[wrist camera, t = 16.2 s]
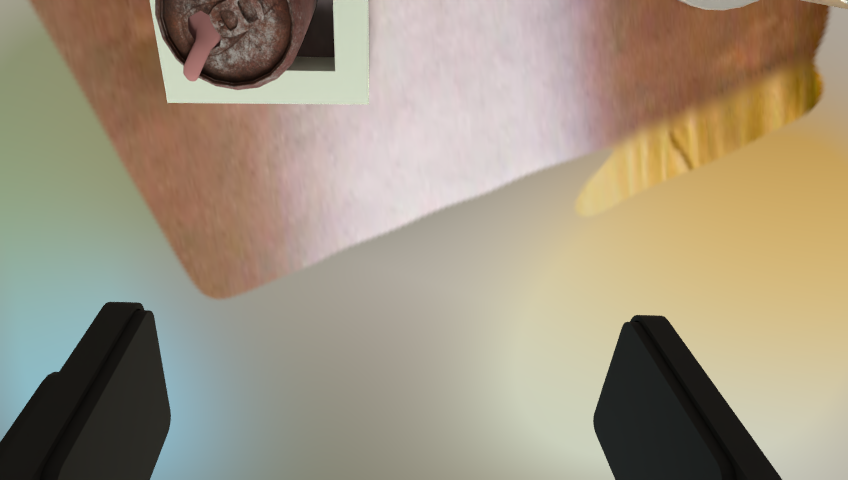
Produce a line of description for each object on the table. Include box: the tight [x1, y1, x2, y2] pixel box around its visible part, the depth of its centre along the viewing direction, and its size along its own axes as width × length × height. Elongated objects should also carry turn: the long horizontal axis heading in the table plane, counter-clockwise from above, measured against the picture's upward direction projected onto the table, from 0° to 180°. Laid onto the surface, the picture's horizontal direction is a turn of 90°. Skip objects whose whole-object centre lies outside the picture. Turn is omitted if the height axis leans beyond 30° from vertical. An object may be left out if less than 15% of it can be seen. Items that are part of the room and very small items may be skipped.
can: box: [155, 0, 317, 90], centre depth 30 cm, size 6×6×14 cm
